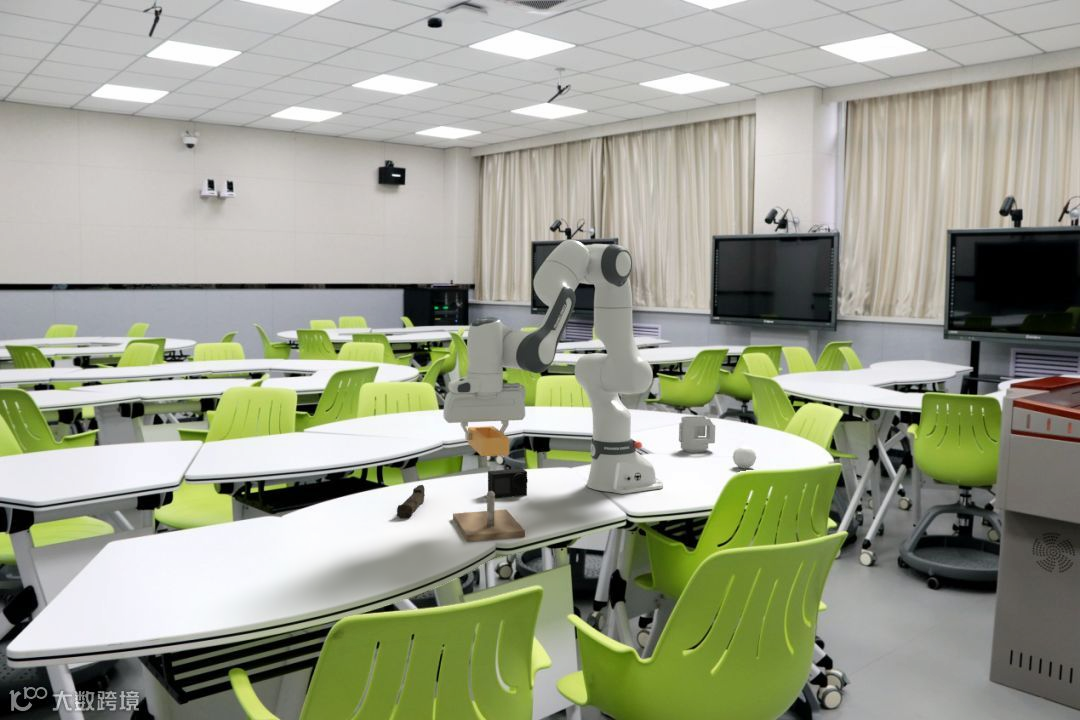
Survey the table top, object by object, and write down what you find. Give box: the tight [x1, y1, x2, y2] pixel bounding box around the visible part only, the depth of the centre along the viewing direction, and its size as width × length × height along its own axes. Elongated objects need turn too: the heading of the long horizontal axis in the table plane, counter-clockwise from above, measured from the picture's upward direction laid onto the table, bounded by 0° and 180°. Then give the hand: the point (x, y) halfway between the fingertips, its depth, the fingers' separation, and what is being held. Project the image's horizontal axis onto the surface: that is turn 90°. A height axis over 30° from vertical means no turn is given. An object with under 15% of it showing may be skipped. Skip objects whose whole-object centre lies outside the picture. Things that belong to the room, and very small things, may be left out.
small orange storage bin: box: [467, 425, 510, 457], centre depth 200 cm, size 7×16×4 cm, turn 17°
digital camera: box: [487, 468, 529, 499], centre depth 231 cm, size 10×5×7 cm, turn 111°
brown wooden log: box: [396, 484, 426, 519], centre depth 218 cm, size 19×4×5 cm, turn 171°
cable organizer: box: [678, 415, 716, 453], centre depth 291 cm, size 7×12×12 cm, turn 98°
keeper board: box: [452, 491, 526, 543], centre depth 201 cm, size 14×18×10 cm
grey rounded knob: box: [732, 445, 757, 469], centre depth 267 cm, size 10×7×7 cm
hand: (484, 439), depth 203 cm, fingers closed on small orange storage bin, 7 cm apart
